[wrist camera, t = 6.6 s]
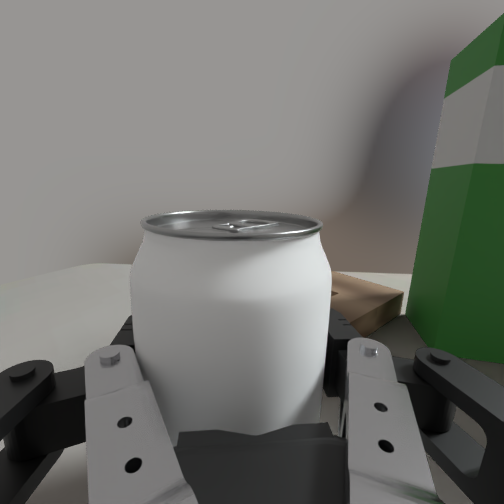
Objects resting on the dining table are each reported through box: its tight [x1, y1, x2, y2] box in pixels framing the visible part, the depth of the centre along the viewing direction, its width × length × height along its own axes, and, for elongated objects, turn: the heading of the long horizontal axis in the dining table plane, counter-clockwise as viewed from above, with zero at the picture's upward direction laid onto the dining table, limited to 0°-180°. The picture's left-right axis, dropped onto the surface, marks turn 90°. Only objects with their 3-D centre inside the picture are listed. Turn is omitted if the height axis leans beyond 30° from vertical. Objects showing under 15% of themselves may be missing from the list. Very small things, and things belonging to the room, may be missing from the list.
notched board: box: [330, 271, 404, 338], centre depth 28 cm, size 20×12×2 cm, turn 131°
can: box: [130, 210, 332, 447], centre depth 11 cm, size 6×6×12 cm
